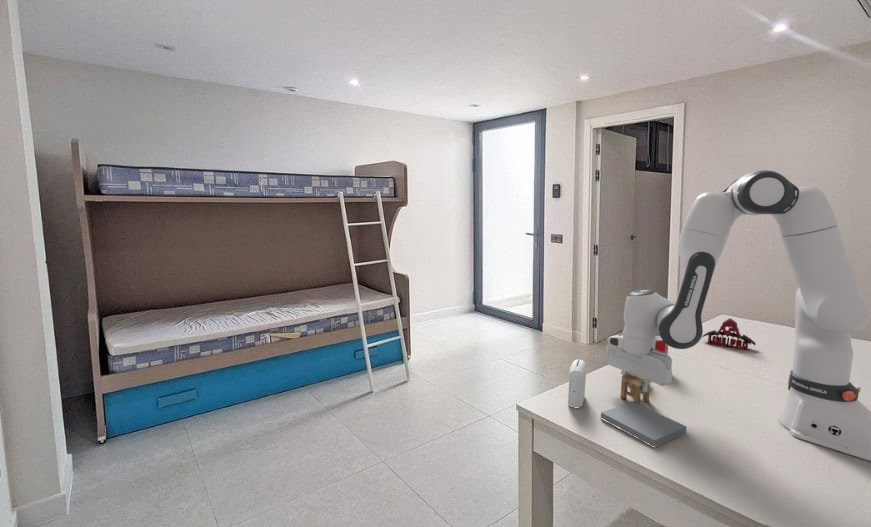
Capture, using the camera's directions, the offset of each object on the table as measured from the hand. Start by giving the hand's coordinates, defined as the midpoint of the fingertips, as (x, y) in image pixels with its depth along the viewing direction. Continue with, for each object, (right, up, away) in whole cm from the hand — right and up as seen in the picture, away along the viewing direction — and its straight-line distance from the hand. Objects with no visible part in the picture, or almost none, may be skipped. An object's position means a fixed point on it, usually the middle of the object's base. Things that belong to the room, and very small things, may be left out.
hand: (635, 388), depth 131 cm
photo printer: (-18, -4, 0) cm, 18 cm away
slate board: (-5, -6, -15) cm, 17 cm away
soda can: (+17, 0, +23) cm, 28 cm away
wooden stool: (0, -4, +1) cm, 4 cm away
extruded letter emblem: (+59, +4, +47) cm, 76 cm away
